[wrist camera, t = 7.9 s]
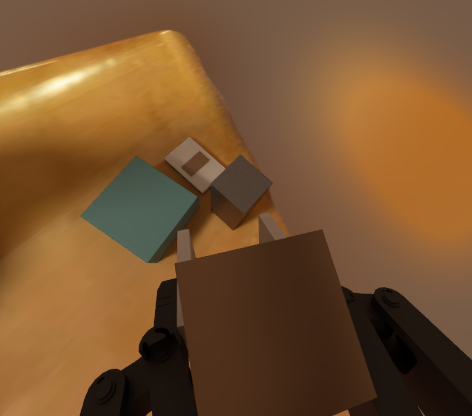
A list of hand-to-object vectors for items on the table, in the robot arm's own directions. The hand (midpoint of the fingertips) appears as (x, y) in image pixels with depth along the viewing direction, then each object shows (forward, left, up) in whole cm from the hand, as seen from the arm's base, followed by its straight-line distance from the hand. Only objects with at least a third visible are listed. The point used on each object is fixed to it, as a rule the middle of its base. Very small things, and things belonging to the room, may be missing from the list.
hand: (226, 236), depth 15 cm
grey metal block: (-3, +6, -18) cm, 19 cm away
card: (-13, +8, -18) cm, 24 cm away
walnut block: (+3, -2, -4) cm, 5 cm away
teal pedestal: (-12, -3, -18) cm, 22 cm away
